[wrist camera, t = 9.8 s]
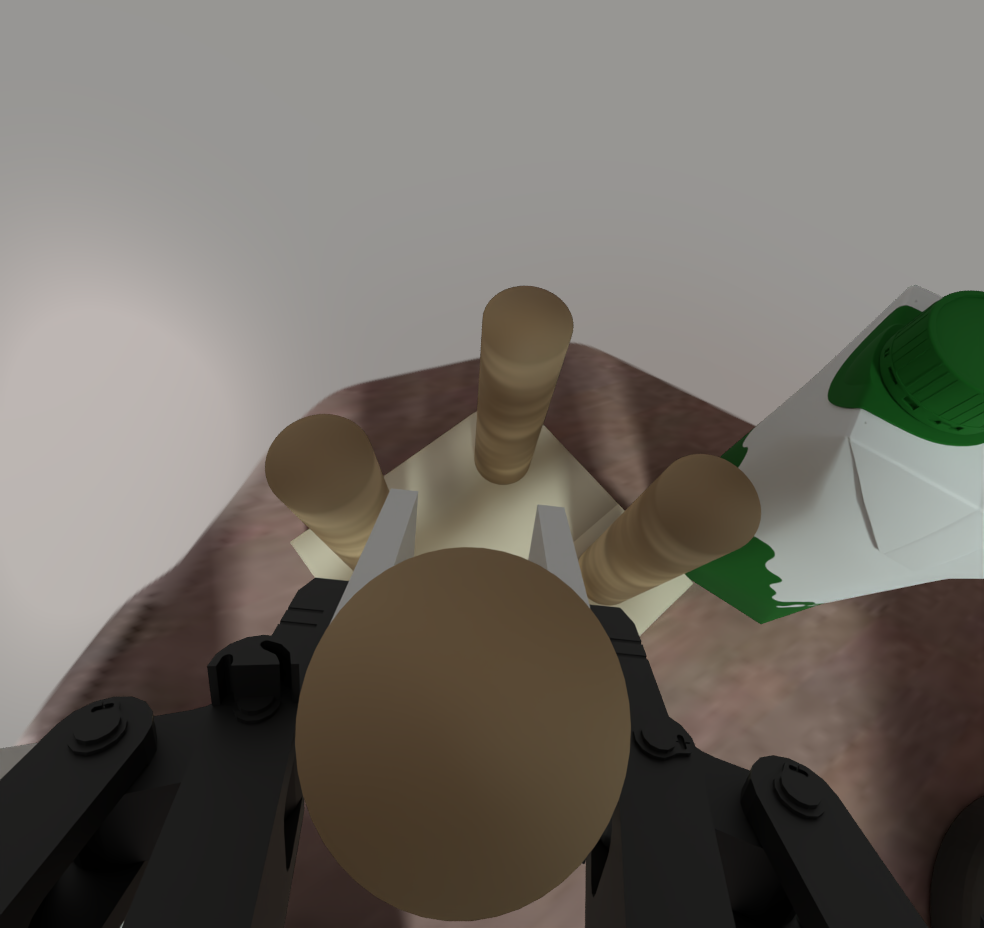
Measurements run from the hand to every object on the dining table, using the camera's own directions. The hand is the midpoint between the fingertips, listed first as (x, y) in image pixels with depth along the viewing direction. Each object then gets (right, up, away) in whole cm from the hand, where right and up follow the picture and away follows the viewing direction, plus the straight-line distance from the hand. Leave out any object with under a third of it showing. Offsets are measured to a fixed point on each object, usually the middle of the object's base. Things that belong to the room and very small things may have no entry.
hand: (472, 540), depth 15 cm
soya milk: (+16, -3, +18) cm, 25 cm away
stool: (0, -4, +17) cm, 17 cm away
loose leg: (-1, -5, +3) cm, 6 cm away
